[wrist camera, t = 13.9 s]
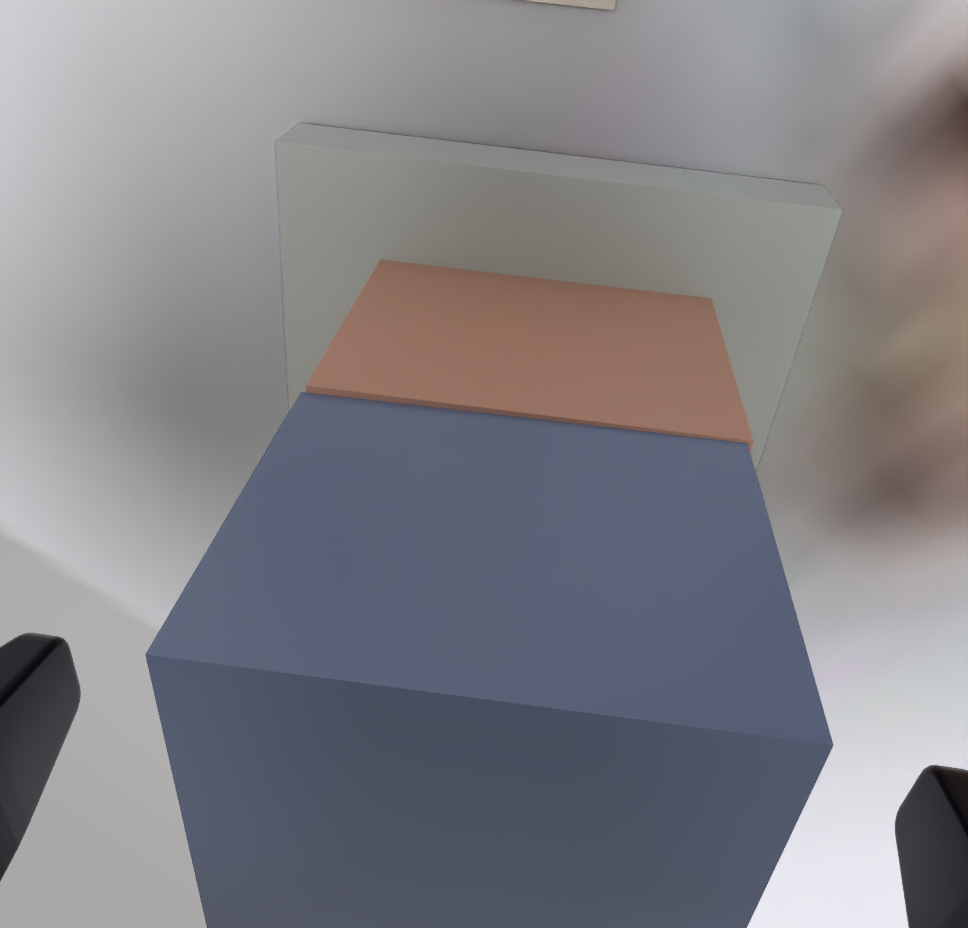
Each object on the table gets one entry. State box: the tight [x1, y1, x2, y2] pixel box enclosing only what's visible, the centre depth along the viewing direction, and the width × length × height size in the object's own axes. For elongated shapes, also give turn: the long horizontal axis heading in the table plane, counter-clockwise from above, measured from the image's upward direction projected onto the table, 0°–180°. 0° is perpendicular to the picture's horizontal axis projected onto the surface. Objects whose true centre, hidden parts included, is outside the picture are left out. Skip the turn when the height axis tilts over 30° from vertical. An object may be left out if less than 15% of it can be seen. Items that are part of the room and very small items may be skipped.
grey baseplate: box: [275, 123, 843, 472], centre depth 15 cm, size 8×8×1 cm
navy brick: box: [146, 392, 833, 928], centre depth 9 cm, size 5×5×4 cm
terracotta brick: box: [306, 260, 754, 451], centre depth 12 cm, size 5×5×4 cm
